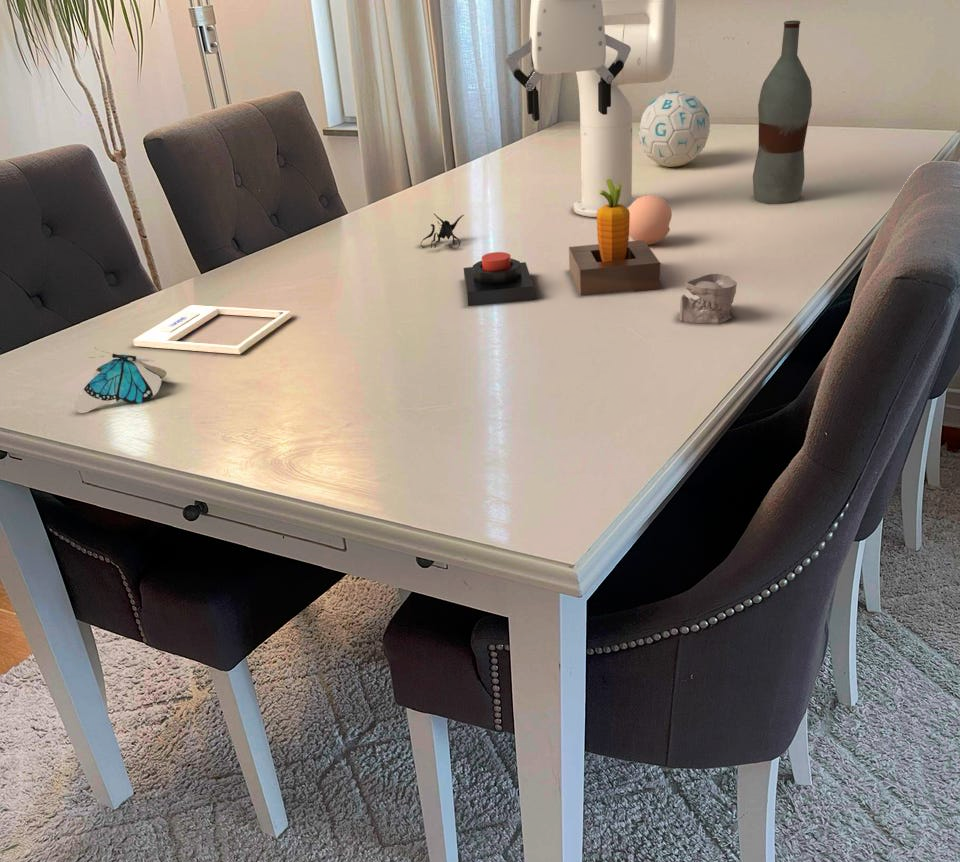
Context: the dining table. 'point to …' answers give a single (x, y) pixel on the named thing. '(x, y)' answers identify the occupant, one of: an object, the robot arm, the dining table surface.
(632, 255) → the holder
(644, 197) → the toy ball
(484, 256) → the button
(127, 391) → the decorative butterfly
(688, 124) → the puzzle ball
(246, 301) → the dining table surface
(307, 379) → the dining table surface
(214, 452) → the dining table surface
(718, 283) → the dental mold
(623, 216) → the carrot
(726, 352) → the dining table surface
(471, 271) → the panel
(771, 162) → the bottle
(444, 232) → the creature
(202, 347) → the photo frame
